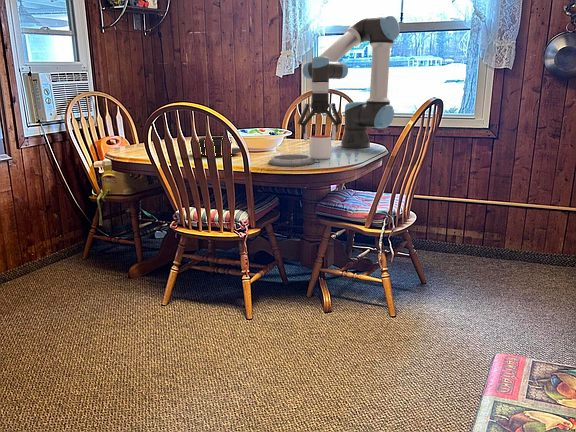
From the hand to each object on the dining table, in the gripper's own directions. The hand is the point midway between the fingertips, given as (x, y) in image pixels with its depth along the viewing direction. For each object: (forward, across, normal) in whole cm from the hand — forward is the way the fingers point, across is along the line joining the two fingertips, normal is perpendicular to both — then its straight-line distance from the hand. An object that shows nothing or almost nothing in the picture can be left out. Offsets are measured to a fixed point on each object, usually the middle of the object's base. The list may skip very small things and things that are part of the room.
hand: (319, 140), depth 251 cm
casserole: (+9, +44, -27) cm, 53 cm away
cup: (+9, 0, 0) cm, 9 cm away
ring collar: (+9, +16, +8) cm, 19 cm away
